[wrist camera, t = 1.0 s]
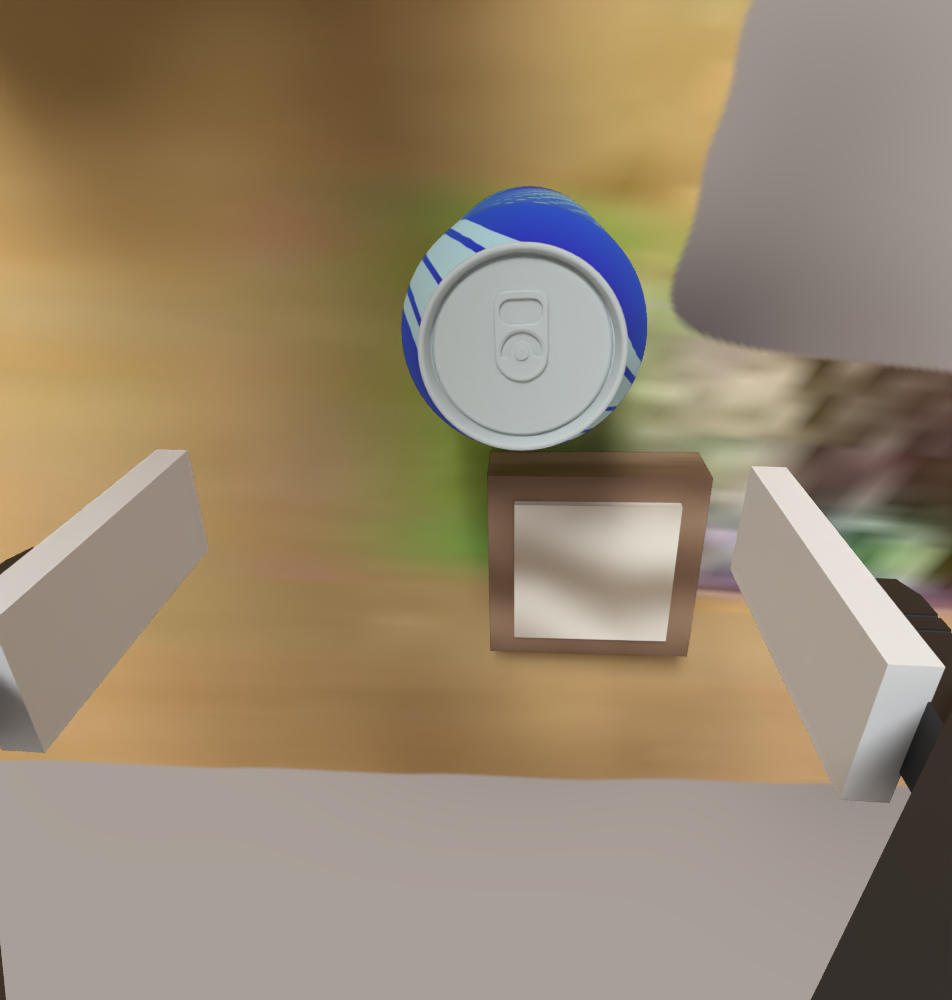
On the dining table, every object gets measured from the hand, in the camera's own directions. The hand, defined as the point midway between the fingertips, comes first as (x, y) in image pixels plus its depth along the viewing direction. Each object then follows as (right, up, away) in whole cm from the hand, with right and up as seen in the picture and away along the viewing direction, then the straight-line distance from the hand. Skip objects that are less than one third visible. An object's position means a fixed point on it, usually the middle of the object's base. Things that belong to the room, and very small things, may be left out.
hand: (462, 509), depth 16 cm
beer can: (+3, +12, +19) cm, 23 cm away
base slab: (+7, -2, +26) cm, 27 cm away
